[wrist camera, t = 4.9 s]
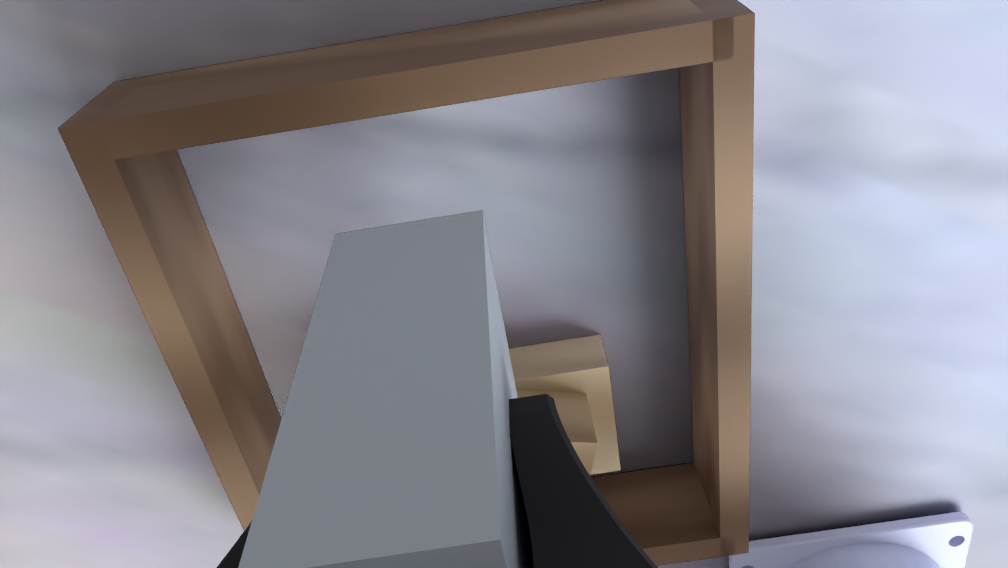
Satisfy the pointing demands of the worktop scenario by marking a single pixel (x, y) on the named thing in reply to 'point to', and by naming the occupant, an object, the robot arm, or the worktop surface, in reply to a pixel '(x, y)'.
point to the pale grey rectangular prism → (398, 413)
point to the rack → (420, 85)
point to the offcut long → (574, 385)
